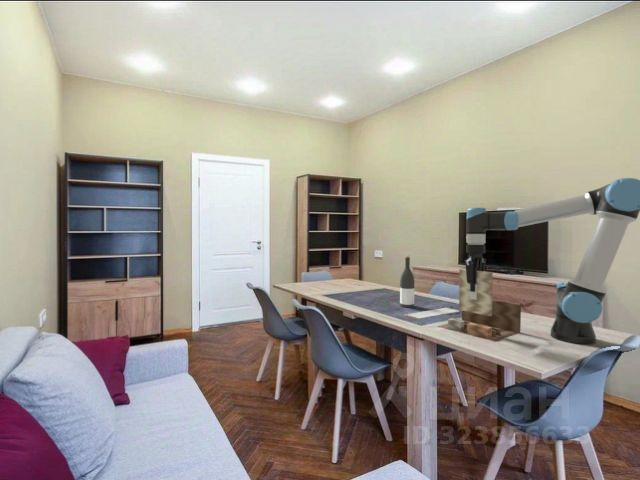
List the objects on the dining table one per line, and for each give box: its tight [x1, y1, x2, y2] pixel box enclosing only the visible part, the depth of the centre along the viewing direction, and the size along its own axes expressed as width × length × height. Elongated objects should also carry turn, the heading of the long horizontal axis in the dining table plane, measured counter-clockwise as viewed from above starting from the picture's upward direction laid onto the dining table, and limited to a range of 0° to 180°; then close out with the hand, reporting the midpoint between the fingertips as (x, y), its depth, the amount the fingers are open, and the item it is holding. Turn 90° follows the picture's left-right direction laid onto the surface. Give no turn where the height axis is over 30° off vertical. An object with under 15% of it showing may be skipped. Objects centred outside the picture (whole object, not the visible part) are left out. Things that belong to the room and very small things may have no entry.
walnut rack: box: [437, 298, 522, 343], centre depth 150 cm, size 26×21×14 cm
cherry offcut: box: [467, 323, 492, 339], centre depth 141 cm, size 9×3×4 cm, turn 36°
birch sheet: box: [458, 268, 494, 316], centre depth 148 cm, size 14×2×18 cm, turn 36°
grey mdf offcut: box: [447, 317, 464, 331], centre depth 150 cm, size 6×3×4 cm, turn 36°
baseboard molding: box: [403, 305, 461, 320], centre depth 184 cm, size 31×3×12 cm
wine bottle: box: [399, 254, 415, 308], centre depth 202 cm, size 8×8×30 cm
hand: (475, 298), depth 148 cm, fingers closed on birch sheet, 2 cm apart
